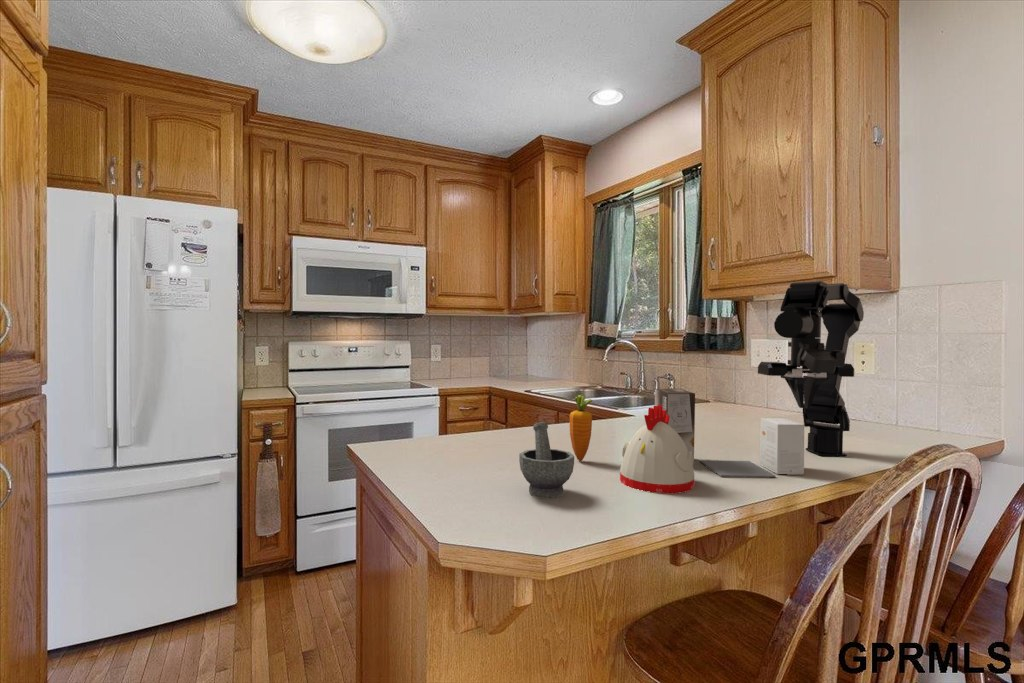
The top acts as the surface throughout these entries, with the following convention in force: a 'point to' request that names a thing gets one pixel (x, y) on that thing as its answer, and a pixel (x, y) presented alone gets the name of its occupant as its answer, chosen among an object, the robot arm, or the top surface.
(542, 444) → the mortar and pestle
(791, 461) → the small box
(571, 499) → the top surface
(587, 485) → the top surface
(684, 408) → the coffee box
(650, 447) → the kitchen timer
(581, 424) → the carrot
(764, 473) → the mat
